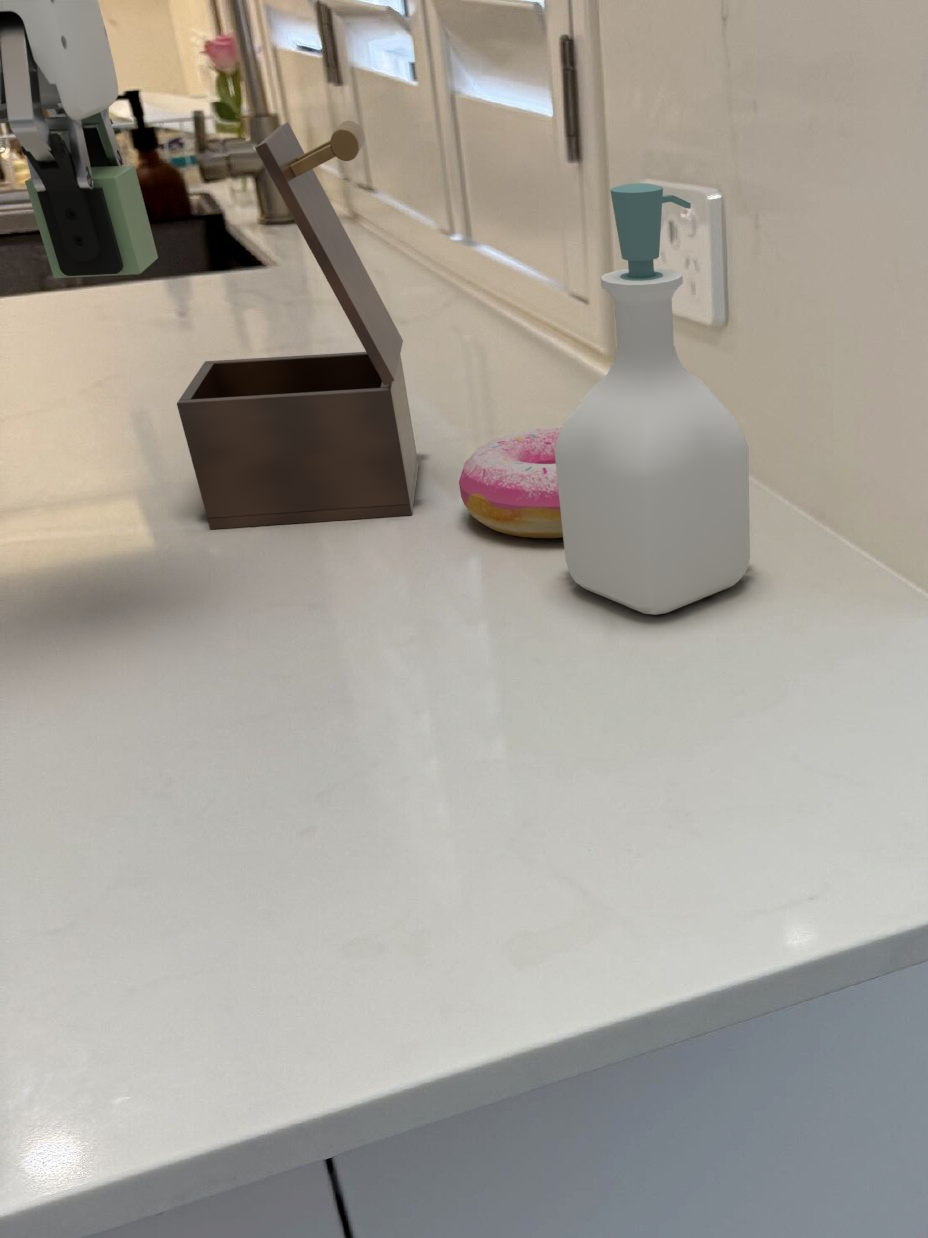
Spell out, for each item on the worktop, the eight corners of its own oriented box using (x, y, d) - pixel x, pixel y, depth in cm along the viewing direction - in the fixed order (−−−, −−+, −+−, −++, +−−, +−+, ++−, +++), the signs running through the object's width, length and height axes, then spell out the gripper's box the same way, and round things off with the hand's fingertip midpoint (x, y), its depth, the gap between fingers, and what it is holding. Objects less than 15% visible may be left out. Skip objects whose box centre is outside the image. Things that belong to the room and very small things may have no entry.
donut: (518, 478, 104) (510, 411, 101) (675, 493, 100) (672, 425, 97) (432, 538, 94) (420, 466, 91) (603, 557, 90) (597, 484, 87)
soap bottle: (763, 585, 86) (761, 181, 72) (653, 631, 80) (627, 205, 66) (664, 548, 91) (643, 167, 77) (555, 589, 86) (512, 188, 72)
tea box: (209, 529, 96) (176, 403, 91) (234, 478, 105) (204, 361, 100) (412, 515, 98) (390, 390, 92) (418, 466, 107) (399, 349, 101)
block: (53, 278, 72) (24, 181, 69) (75, 261, 75) (48, 168, 73) (140, 274, 72) (114, 177, 69) (158, 258, 76) (134, 165, 73)
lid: (254, 148, 83) (333, 107, 82) (278, 127, 92) (348, 90, 91) (384, 385, 92) (456, 351, 91) (394, 345, 101) (459, 313, 100)
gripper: (-38, -154, 69) (76, 240, 80) (-171, -175, 55) (-12, 300, 67) (111, -157, 69) (203, 234, 81) (14, -178, 56) (140, 293, 67)
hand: (104, 260), depth 74 cm, fingers closed on block, 4 cm apart
